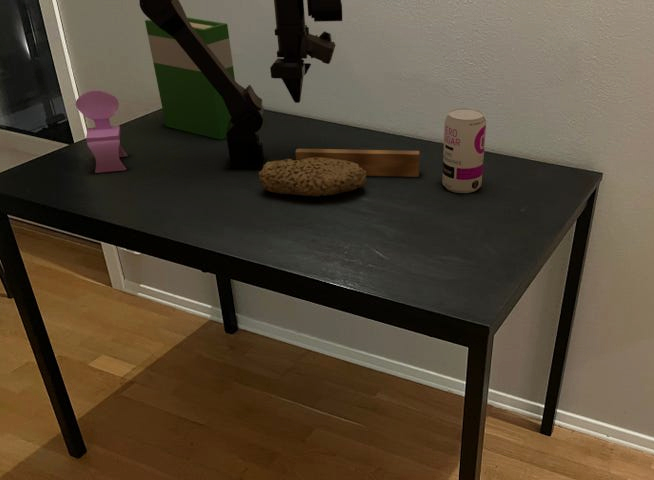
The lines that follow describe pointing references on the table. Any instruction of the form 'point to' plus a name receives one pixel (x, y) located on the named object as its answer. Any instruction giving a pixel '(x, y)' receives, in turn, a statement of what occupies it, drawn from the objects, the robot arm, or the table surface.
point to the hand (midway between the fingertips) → (297, 102)
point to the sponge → (312, 176)
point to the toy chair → (102, 130)
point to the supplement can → (463, 150)
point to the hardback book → (191, 80)
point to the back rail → (371, 160)
